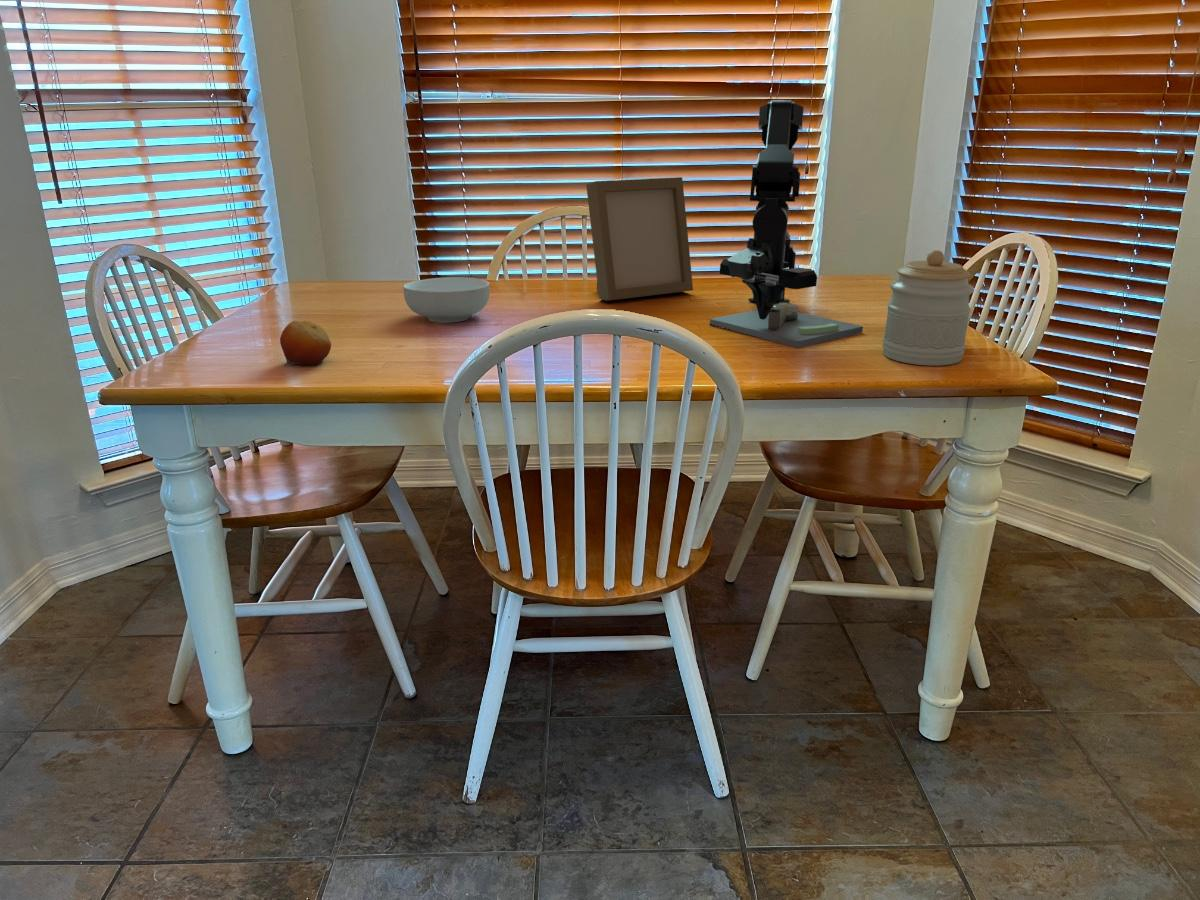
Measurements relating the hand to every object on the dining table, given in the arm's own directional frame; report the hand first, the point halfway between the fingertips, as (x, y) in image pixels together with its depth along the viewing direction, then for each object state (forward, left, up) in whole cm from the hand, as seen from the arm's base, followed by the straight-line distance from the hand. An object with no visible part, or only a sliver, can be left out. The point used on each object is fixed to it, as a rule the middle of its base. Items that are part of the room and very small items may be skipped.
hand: (762, 319), depth 160 cm
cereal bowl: (+40, -47, -3) cm, 62 cm away
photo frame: (-5, -43, -3) cm, 44 cm away
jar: (-9, +28, -3) cm, 29 cm away
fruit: (+74, -32, -3) cm, 81 cm away
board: (-6, 0, -3) cm, 7 cm away
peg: (-5, 0, -1) cm, 5 cm away
